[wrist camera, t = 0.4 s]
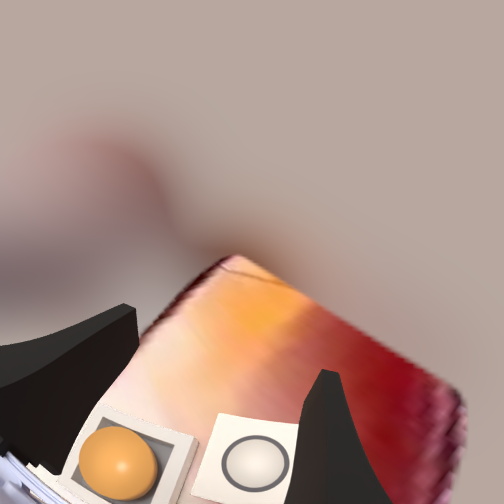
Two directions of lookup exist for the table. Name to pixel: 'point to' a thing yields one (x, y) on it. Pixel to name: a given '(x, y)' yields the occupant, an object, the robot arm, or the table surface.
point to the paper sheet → (247, 461)
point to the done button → (118, 463)
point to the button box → (160, 441)
